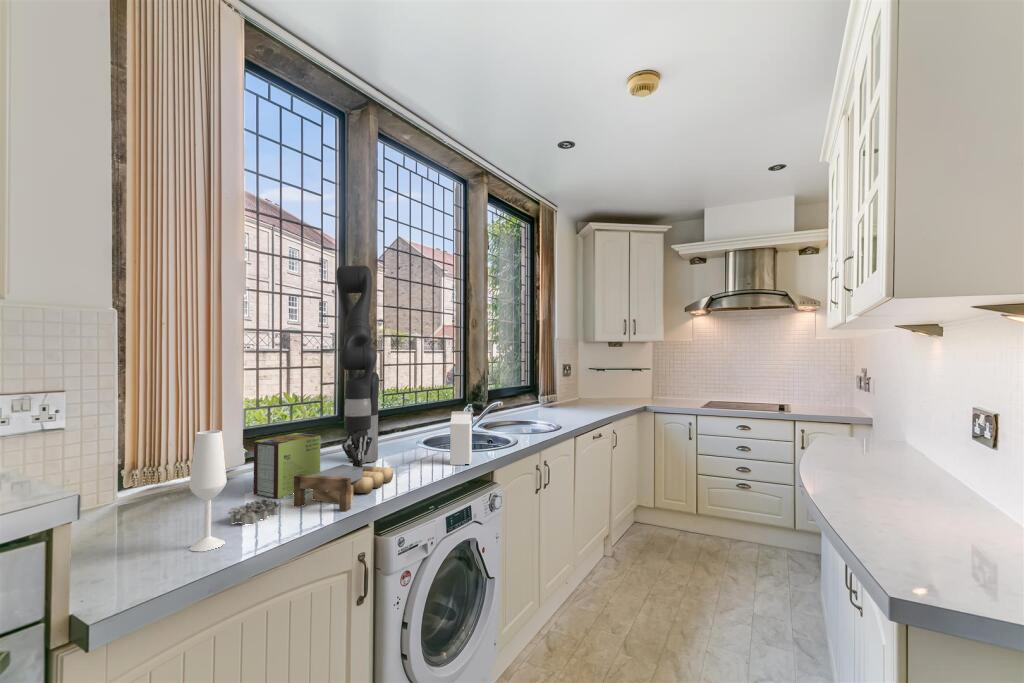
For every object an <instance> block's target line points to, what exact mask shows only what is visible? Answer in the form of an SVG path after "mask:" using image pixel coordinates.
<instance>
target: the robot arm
mask: <svg viewBox="0 0 1024 683" xmlns="http://www.w3.org/2000/svg"><path fill="white" fill-rule="evenodd" d="M335 273H336V276H335V277H336V284H337V289H338V290H337V291H338V295H339V301H340V307H341V315H342V316H341V318H342V329H343V330H342V331H343V338H344V339H343V340H344V343H343V346H342V348H341V351H340V354H339V359H338V360H339V365H340V367H341V368H342V369H343V370H346V371H347V380H346V382H345V403H344V430H345V431H347V436H346V439H347V441H346V442H345V443H342V445H341V448H342V450H343V451H344V454H345V455H346V458H347V459H348V460H349V462H350V461H353V462H352V466H355V467H361V468H362V466H363V464H367V463H366V462H371V463H374V462H373V461H375V462H377V461H378V459H379V458H378V457H379V453H378V451H379V392H380V391H379V390H380V377H379V374H378V372H376V371H374V370H375V367H376V364H377V358H378V357H377V356H378V354H377V351H376V350H375V348H374V347H372V342H373V341H372V329H371V324H370V311H371V303H372V302H371V301H372V290H373V277H372V271H371V268H370V267H369V266H368V265H340V266H339V267H337V269H336V272H335ZM350 294H360V296H359V298H358V300H357V302H355V304H354V302H353V300H352V298H351V296H350ZM376 460H377V461H376Z"/></svg>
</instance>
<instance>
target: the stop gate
mask: <svg viewBox="0 0 1024 683" xmlns="http://www.w3.org/2000/svg"><path fill="white" fill-rule="evenodd" d="M305 489H308V490H325V491H337V492H340V497H339V503H338V505H339V509H338V511H340V512H348V511H350V510H351V509H352V507H351V506H352V505H351V504H352V502H351V501H352V500H351V478H341V477H329V476H316V475H303V474H298V475H296V476H294V494H293V507H295V506H301V507H303V506H305V505H306V490H305ZM304 504H305V505H304ZM302 505H303V506H302Z"/></svg>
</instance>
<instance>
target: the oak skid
mask: <svg viewBox="0 0 1024 683" xmlns="http://www.w3.org/2000/svg"><path fill="white" fill-rule="evenodd" d="M311 490H312V493H311V494H312V499H315V500H314V501H319V500H320V501H319V502H326V501H328V502H327V503H333V502H335V503H334V504H339V497H340V492H337V491H327V492H324V491H320V490H313V489H311ZM353 500H354V492H353V485H351V501H353Z"/></svg>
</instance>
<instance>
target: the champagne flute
mask: <svg viewBox="0 0 1024 683" xmlns="http://www.w3.org/2000/svg"><path fill="white" fill-rule="evenodd" d="M224 450H225V449H224V441H223V431H222V430H217V429H214V430H202V431H198V432H195V438H194V445H193V452H192V453H193V454H192V460H191V461H192V462H191V471H190V477H189V486H188V487H189V489H190V491H191V493H192V494H193V495H195V496H197V497H198V498H199V499H201V500H203V501H204V522H203V523H204V525H203V526H204V531H203V532H204V534H203V536H204V537H202V538H200V540H197V542H195V543H194V544H192V545H190V546H191V547H190V546H189V547H190V549H191V550H193V551H206V552H208V551H207V550H211V549H214V550H216V549H215V548H217V549H219V548H218V547H220V548H221V546H222V545H223V544H225V545H226V543H225V542H226V541H225V540H223V539H220V538H218V537H215V536H212V535H211V534H212V500H213V499H214V498H215V497H217V496H218V495H219V494H220V493H221V492H222V491H223V490H224V488H225V487H226V485H227V472H226V460H225V451H224ZM223 546H224V545H223ZM223 546H222V547H223ZM211 551H212V550H211Z"/></svg>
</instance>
